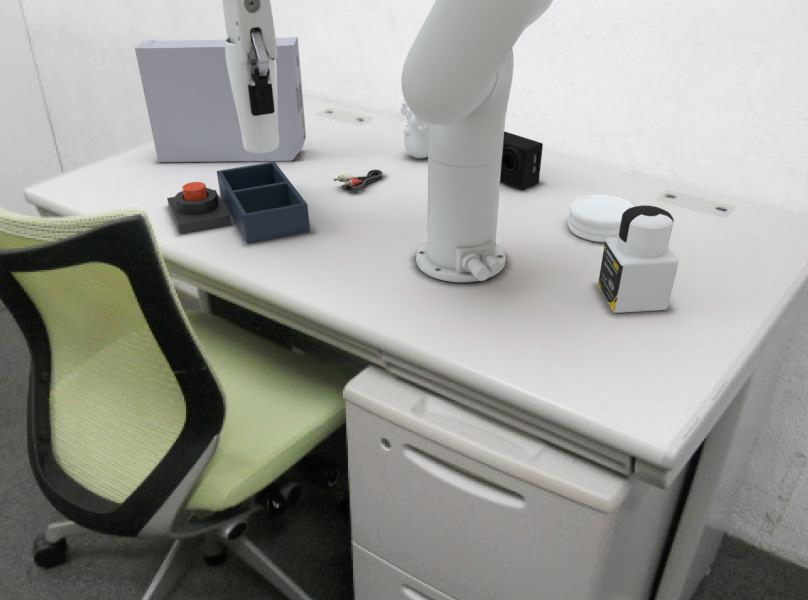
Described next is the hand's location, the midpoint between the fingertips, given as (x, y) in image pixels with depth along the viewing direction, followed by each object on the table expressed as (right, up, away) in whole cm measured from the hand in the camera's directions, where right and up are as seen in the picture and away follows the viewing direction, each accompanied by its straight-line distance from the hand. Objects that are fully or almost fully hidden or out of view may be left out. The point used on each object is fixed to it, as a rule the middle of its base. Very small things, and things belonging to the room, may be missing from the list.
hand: (256, 105), depth 110 cm
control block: (-12, -12, +15) cm, 22 cm away
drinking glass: (0, -5, +4) cm, 6 cm away
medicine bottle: (+50, -29, -9) cm, 59 cm away
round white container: (+51, -16, +7) cm, 54 cm away
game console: (-10, +4, +35) cm, 37 cm away
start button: (-12, -10, +13) cm, 20 cm away
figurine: (+25, +3, +33) cm, 41 cm away
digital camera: (+39, -4, +23) cm, 46 cm away
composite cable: (+15, -5, +23) cm, 28 cm away
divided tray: (-1, -12, +15) cm, 19 cm away
